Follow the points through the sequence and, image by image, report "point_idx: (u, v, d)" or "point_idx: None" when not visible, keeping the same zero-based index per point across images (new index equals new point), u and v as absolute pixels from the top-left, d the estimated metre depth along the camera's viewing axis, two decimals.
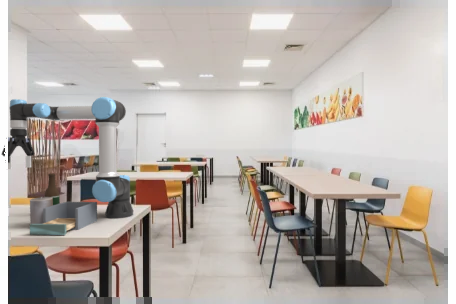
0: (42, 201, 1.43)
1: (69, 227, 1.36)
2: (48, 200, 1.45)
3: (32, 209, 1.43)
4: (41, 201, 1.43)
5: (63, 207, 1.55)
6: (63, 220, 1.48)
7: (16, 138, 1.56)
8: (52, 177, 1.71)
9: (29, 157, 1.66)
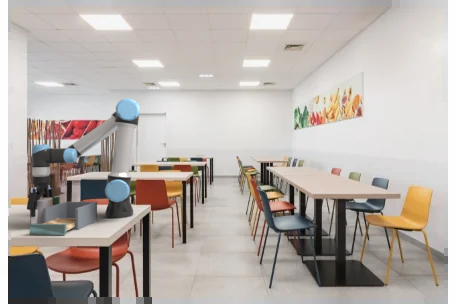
0: (42, 201, 1.43)
1: (69, 227, 1.36)
2: (48, 200, 1.45)
3: None
4: (41, 201, 1.43)
5: (63, 207, 1.55)
6: (63, 220, 1.48)
7: (39, 187, 1.44)
8: (52, 177, 1.71)
9: None
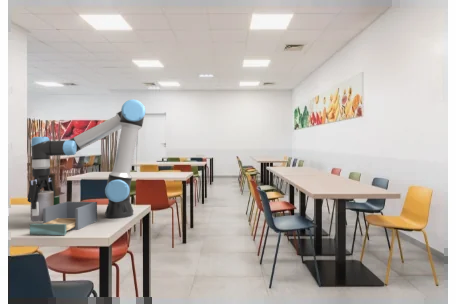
0: (43, 194, 1.43)
1: (69, 227, 1.36)
2: (49, 193, 1.45)
3: None
4: (42, 194, 1.43)
5: (63, 207, 1.55)
6: (63, 220, 1.48)
7: (39, 179, 1.44)
8: (52, 177, 1.71)
9: None
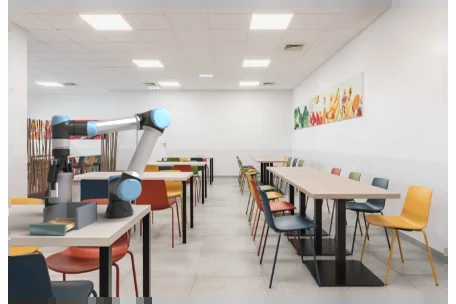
0: (63, 175, 1.37)
1: (69, 227, 1.36)
2: (69, 175, 1.39)
3: None
4: (62, 175, 1.37)
5: (63, 207, 1.55)
6: (63, 220, 1.48)
7: (59, 159, 1.38)
8: None
9: None
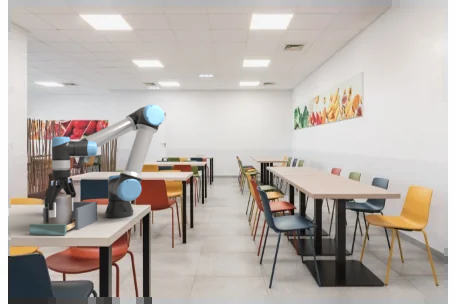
0: (60, 198, 1.37)
1: (69, 227, 1.36)
2: (66, 197, 1.39)
3: None
4: (59, 198, 1.37)
5: None
6: None
7: (59, 181, 1.38)
8: (52, 177, 1.71)
9: (71, 199, 1.48)
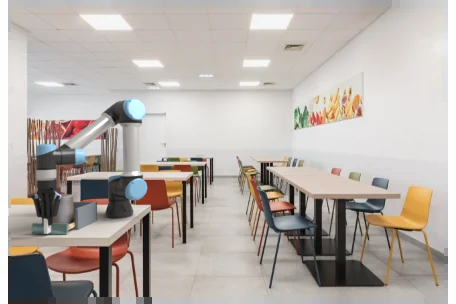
0: (63, 198, 1.39)
1: (71, 226, 1.37)
2: (69, 197, 1.41)
3: None
4: (62, 198, 1.39)
5: None
6: None
7: (38, 191, 1.30)
8: None
9: None
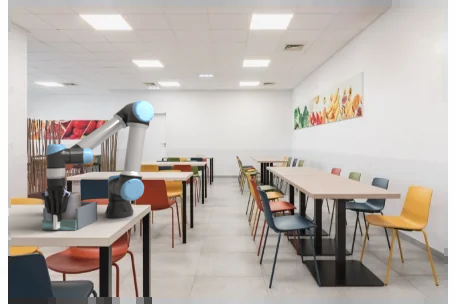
0: (71, 196, 1.45)
1: None
2: (77, 195, 1.47)
3: None
4: (70, 196, 1.45)
5: None
6: None
7: (47, 189, 1.36)
8: None
9: None
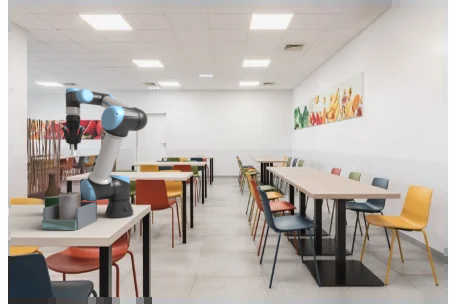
0: (71, 196, 1.45)
1: None
2: (76, 195, 1.47)
3: (61, 204, 1.45)
4: (70, 196, 1.45)
5: None
6: None
7: (66, 124, 1.73)
8: (52, 177, 1.71)
9: None
